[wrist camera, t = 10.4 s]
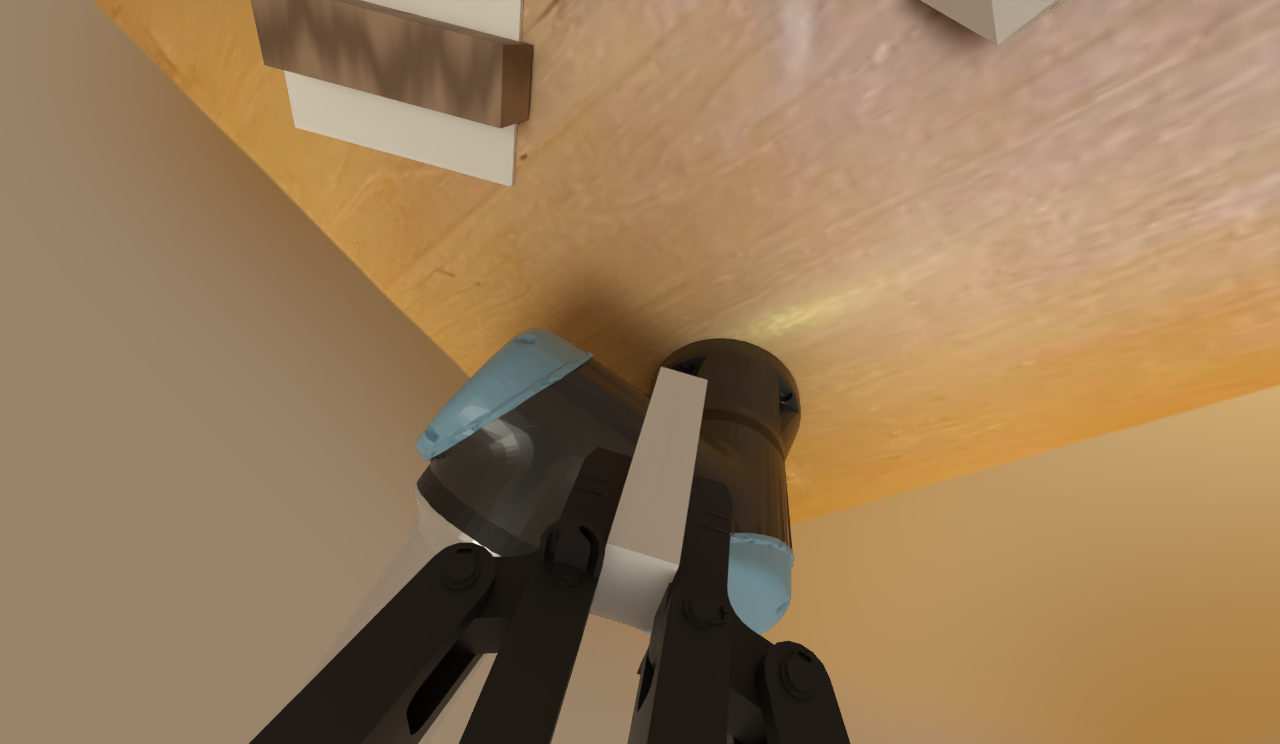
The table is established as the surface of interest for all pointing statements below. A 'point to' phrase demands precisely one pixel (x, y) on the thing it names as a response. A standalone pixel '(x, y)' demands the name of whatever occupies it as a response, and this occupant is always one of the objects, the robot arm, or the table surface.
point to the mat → (410, 129)
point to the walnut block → (399, 57)
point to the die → (995, 15)
